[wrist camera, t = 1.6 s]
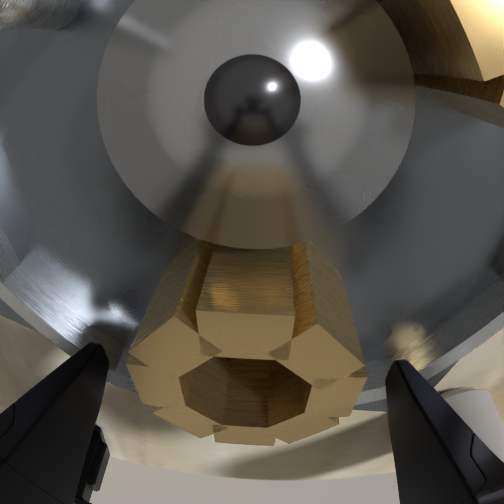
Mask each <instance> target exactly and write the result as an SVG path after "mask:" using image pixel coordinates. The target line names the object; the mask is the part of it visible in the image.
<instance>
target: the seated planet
mask: <svg viewBox="0 0 504 504" xmlns="http://www.w3.org/2000/svg"><path fill="white" fill-rule="evenodd" d="M378 4H379V5H380V6H381V7H382V8H383V10H384V11H385V12H386V13H387V15H388V16H389V17H390V19H391V21H392V22H393V24H394V26H395V27H396V29H397V31H398V32H399V34H400V36H401V38H402V41H403V43H404V45H405V48H406V50H407V53H408V56H409V59H410V63H411V67H412V71H413V73H418V75H417V78H416V82H415V86H416V87H418V88H420V89H422V90H424V91H426V92H428V93H429V94H431V95H433V96H435V97H437V98H439V99H440V100H442V101H444V102H446V103H447V104H449V105H451V106H453V107H454V108H456V109H458V110H459V111H461V112H463V113H464V114H466V115H469V116H471V117H474V118H477V119H480V120H483V121H485V122H488V123H491V124H493V125H496V126H499V127H501V128H504V0H384V1H382V2H380V3H378Z"/></svg>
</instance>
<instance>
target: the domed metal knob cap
mask: <svg viewBox="0 0 504 504" xmlns="http://www.w3.org/2000/svg"><path fill="white" fill-rule="evenodd" d="M415 97H416V93H415V84H414V76H413V71H412V67H411V63H410V59H409V56H408V53H407V50H406V48H405V45H404V43H403V41H402V38H401V36H400V34H399V32H398V31H397V29H396V27H395V26H394V24H393V22H392V21H391V19H390V17H389V16H388V15H387V13H386V12H385V11H384V10H383V8H382V7H381V6H380V5H379V4H378V2H377V1H376V0H135V1H134V2H133V4H132V5H131V6H130V7H129V9H128V10H127V11H126V12H125V14H124V15H123V16H122V18H121V19H120V21H119V23H118V24H117V26H116V28H115V29H114V31H113V33H112V35H111V37H110V39H109V42H108V44H107V47H106V49H105V52H104V54H103V58H102V62H101V66H100V70H99V75H98V84H97V114H98V120H99V126H100V131H101V135H102V138H103V141H104V145H105V148H106V150H107V153H108V155H109V157H110V159H111V161H112V164H113V166H114V167H115V169H116V171H117V172H118V174H119V176H120V177H121V179H122V180H123V182H124V183H125V184H126V186H127V187H128V188H129V189H130V191H131V192H132V193H133V194H134V196H135V197H136V198H137V199H138V200H139V201H140V202H141V203H142V204H143V205H145V206H146V207H147V208H148V209H149V210H150V211H151V212H153V213H154V214H155V215H157V216H158V217H159V218H160V219H162V220H163V221H165V222H166V223H168V224H170V225H171V226H173V227H175V228H176V229H178V230H180V231H182V232H184V233H187V234H189V235H191V236H193V237H195V238H198V239H201V240H204V241H208V242H211V243H214V244H218V245H223V246H228V247H234V248H246V249H272V248H279V247H286V246H292V245H296V244H299V243H303V242H307V241H310V240H313V239H315V238H318V237H321V236H323V235H326V234H328V233H330V232H332V231H334V230H335V229H337V228H339V227H341V226H343V225H345V224H346V223H347V222H349V221H350V220H352V219H353V218H355V217H356V216H357V215H359V214H360V213H361V212H362V211H363V210H365V209H366V208H367V207H368V206H369V205H370V204H371V203H372V202H373V201H374V200H375V199H376V198H377V197H378V196H379V195H380V193H381V192H382V191H383V190H384V189H385V188H386V186H387V185H388V183H389V182H390V180H391V179H392V177H393V176H394V174H395V173H396V171H397V169H398V167H399V165H400V163H401V161H402V159H403V157H404V155H405V153H406V150H407V147H408V144H409V140H410V137H411V134H412V129H413V123H414V117H415Z"/></svg>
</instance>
